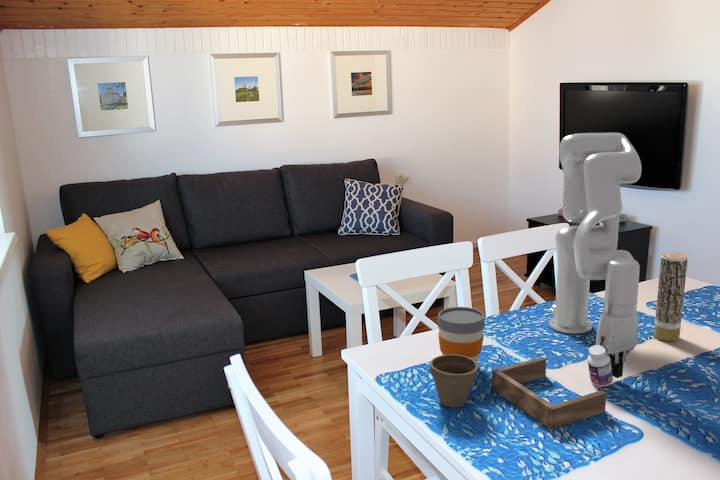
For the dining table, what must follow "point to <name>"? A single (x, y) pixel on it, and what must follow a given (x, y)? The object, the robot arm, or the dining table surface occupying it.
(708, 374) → the dining table surface
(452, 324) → the reusable coffee cup
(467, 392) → the flower pot
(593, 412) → the box
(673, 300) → the brown upright cylinder piece
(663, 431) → the dining table surface
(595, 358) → the pill bottle
